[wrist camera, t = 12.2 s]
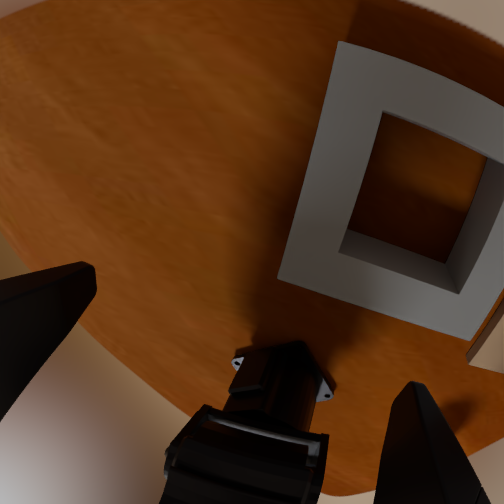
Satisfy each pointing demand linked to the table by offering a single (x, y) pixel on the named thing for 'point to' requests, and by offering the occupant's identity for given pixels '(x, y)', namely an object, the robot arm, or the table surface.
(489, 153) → the pocket block
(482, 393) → the table surface
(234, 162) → the table surface
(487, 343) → the beige board
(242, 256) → the table surface
